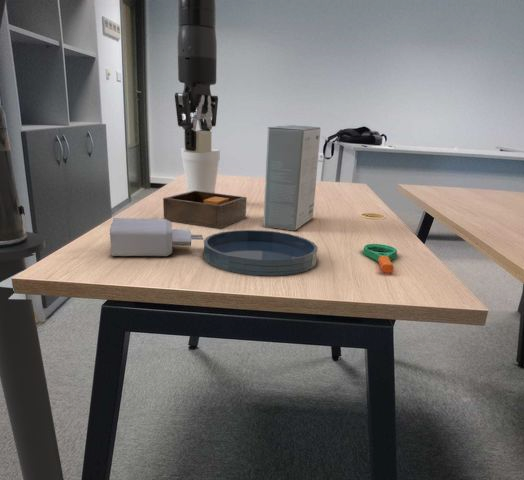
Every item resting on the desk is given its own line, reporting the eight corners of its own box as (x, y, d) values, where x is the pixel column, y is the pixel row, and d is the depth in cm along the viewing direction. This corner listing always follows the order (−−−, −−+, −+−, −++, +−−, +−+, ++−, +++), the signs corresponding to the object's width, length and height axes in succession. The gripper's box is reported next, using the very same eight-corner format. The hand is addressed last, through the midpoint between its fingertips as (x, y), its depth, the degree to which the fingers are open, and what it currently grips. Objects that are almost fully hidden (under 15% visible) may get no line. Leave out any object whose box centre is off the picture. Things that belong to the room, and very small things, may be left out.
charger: (204, 258, 79) (111, 258, 76) (200, 244, 87) (116, 243, 84) (204, 230, 77) (108, 228, 74) (200, 217, 85) (114, 216, 82)
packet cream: (184, 151, 98) (183, 130, 96) (197, 150, 103) (197, 130, 101) (199, 153, 97) (198, 132, 95) (211, 151, 102) (211, 131, 100)
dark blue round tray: (182, 262, 76) (182, 247, 75) (232, 238, 92) (233, 225, 91) (295, 283, 70) (297, 267, 69) (328, 253, 86) (329, 239, 85)
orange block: (203, 218, 103) (203, 199, 102) (214, 214, 108) (215, 196, 106) (217, 220, 102) (218, 201, 101) (228, 216, 107) (229, 198, 105)
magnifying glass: (361, 248, 91) (363, 240, 90) (393, 251, 90) (395, 242, 89) (368, 272, 77) (369, 262, 76) (405, 276, 77) (407, 266, 76)
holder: (163, 220, 103) (162, 198, 100) (194, 210, 114) (194, 190, 112) (219, 228, 98) (220, 206, 96) (245, 217, 110) (246, 197, 108)
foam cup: (186, 198, 127) (185, 146, 121) (220, 201, 127) (221, 148, 121) (179, 205, 118) (178, 149, 112) (216, 207, 118) (216, 151, 112)
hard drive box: (282, 214, 115) (289, 124, 106) (313, 218, 113) (322, 127, 104) (261, 227, 102) (267, 125, 93) (295, 231, 100) (304, 128, 91)
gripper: (198, 59, 99) (198, 146, 107) (160, 51, 87) (164, 150, 95) (230, 60, 97) (228, 149, 105) (196, 52, 85) (196, 153, 93)
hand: (197, 149), depth 100 cm, fingers closed on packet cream, 5 cm apart
